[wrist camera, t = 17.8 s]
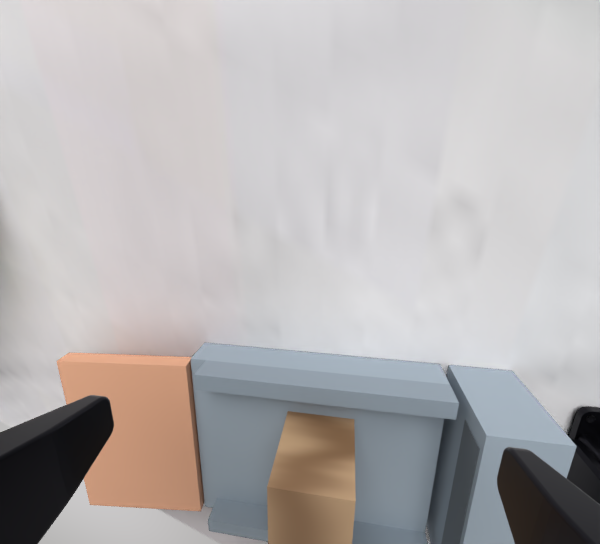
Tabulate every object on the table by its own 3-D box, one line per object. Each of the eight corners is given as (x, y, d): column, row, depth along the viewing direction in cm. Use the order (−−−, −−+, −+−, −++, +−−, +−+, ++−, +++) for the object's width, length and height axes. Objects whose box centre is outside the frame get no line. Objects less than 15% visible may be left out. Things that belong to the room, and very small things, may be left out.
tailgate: (185, 366, 19) (56, 361, 19) (200, 511, 22) (90, 504, 22) (192, 357, 20) (68, 352, 20) (205, 497, 23) (99, 491, 23)
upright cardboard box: (354, 419, 18) (355, 501, 14) (348, 496, 20) (347, 593, 15) (287, 410, 19) (267, 487, 14) (287, 486, 21) (268, 577, 16)
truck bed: (512, 370, 18) (578, 446, 13) (478, 522, 22) (518, 631, 16) (204, 342, 21) (156, 395, 16) (216, 480, 24) (179, 562, 19)
